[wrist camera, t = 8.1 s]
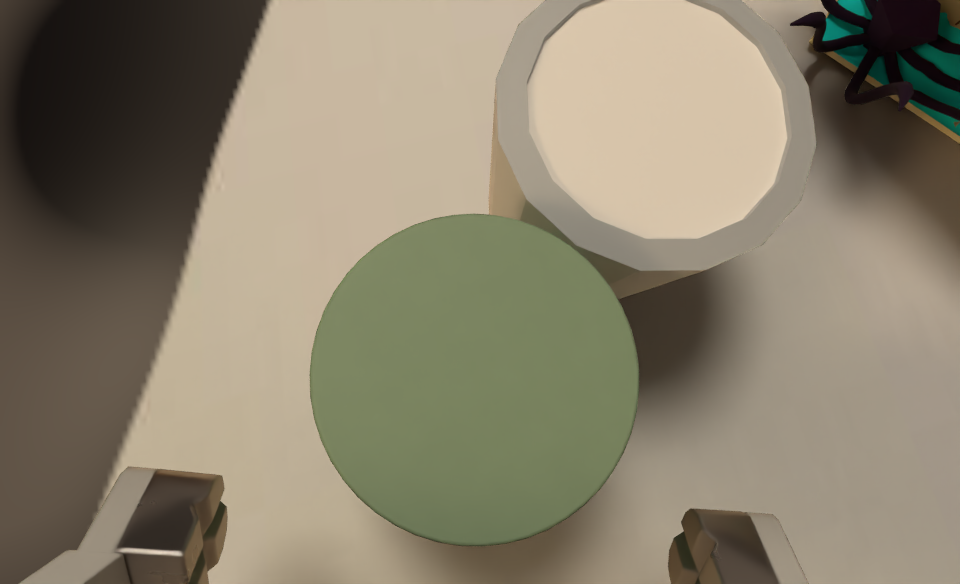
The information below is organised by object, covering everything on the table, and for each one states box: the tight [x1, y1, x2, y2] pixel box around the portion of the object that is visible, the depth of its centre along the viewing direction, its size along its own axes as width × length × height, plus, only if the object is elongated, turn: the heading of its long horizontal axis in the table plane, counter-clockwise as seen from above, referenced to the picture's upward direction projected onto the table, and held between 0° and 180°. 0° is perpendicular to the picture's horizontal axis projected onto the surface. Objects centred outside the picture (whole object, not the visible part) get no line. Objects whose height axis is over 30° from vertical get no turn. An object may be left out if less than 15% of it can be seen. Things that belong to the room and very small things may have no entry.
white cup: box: [489, 0, 817, 299], centre depth 17 cm, size 7×7×7 cm
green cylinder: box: [310, 214, 639, 546], centre depth 15 cm, size 6×6×8 cm
